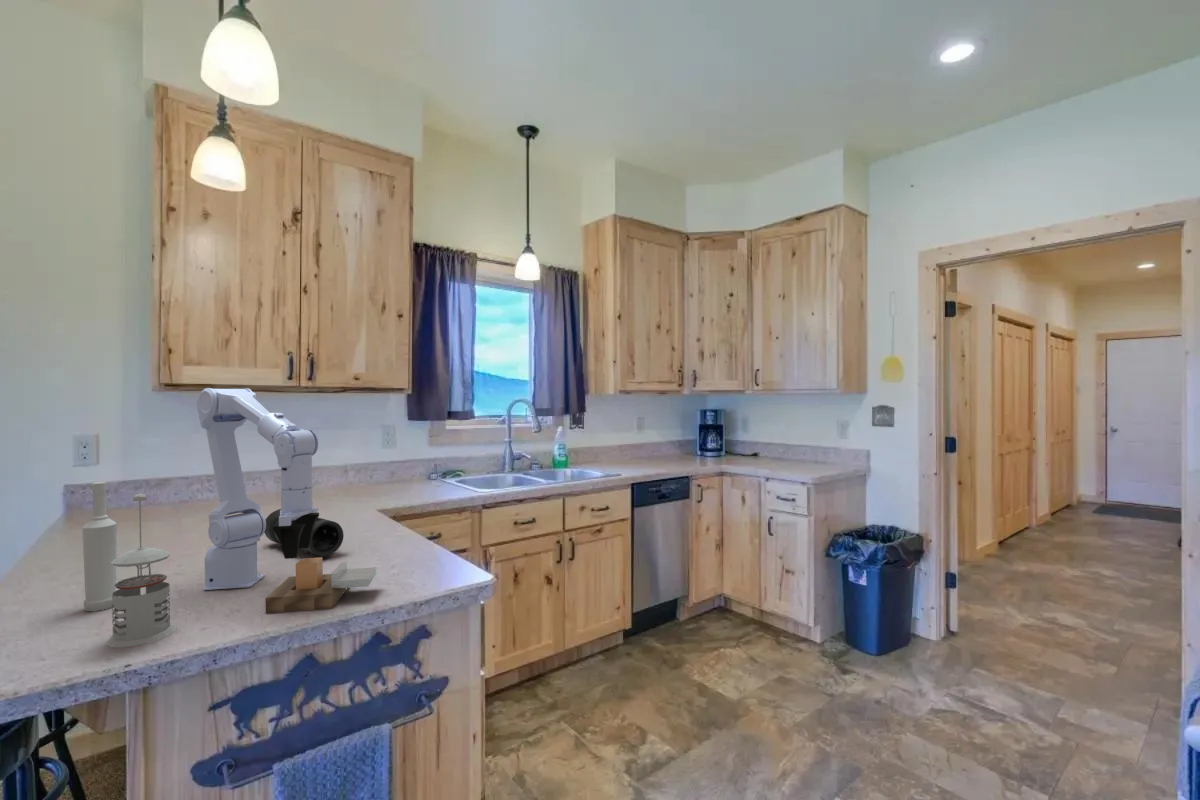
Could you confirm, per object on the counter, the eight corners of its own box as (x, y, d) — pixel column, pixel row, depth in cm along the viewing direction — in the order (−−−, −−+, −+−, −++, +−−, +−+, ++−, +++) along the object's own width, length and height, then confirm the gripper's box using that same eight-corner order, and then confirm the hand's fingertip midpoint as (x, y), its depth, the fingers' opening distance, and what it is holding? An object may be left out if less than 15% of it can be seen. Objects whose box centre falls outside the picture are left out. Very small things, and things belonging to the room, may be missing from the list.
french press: (101, 653, 92) (99, 501, 92) (110, 629, 102) (107, 491, 102) (176, 637, 98) (174, 494, 98) (177, 616, 108) (175, 486, 107)
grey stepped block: (331, 588, 113) (331, 573, 113) (341, 576, 121) (341, 562, 121) (368, 586, 115) (368, 571, 115) (376, 574, 122) (376, 560, 122)
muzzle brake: (308, 564, 141) (307, 523, 141) (260, 547, 158) (259, 510, 158) (345, 556, 148) (344, 516, 148) (295, 540, 165) (295, 505, 165)
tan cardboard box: (296, 603, 114) (295, 564, 114) (302, 596, 118) (301, 558, 118) (317, 601, 115) (316, 562, 115) (322, 595, 119) (322, 557, 119)
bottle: (115, 600, 116) (113, 480, 116) (120, 606, 113) (118, 482, 113) (81, 608, 112) (79, 483, 112) (86, 614, 109) (84, 485, 109)
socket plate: (265, 613, 109) (265, 597, 109) (289, 590, 121) (289, 576, 121) (331, 608, 111) (331, 593, 111) (348, 586, 124) (348, 572, 124)
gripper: (306, 493, 111) (306, 561, 111) (327, 481, 125) (327, 542, 125) (266, 494, 110) (267, 563, 110) (292, 482, 124) (293, 544, 124)
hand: (297, 552), depth 117 cm, fingers open, 7 cm apart
